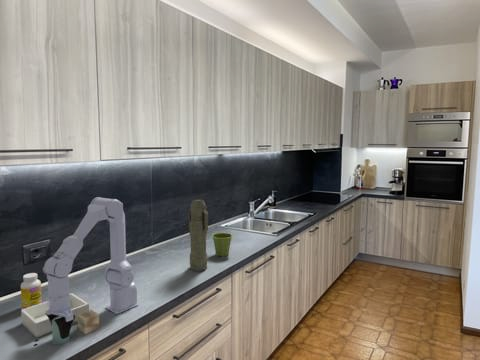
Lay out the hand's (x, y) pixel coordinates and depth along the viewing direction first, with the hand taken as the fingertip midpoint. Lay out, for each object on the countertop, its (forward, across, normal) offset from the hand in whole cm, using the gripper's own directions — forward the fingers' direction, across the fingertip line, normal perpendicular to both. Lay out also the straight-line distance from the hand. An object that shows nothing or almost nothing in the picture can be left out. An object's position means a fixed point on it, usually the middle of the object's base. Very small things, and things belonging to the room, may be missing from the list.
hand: (61, 334), depth 110 cm
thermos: (+2, -12, +72) cm, 73 cm away
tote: (+2, -14, +4) cm, 15 cm away
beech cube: (+2, 0, +9) cm, 9 cm away
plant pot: (+2, -17, +95) cm, 97 cm away
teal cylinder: (+2, 0, 0) cm, 2 cm away
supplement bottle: (+2, -31, +2) cm, 31 cm away
